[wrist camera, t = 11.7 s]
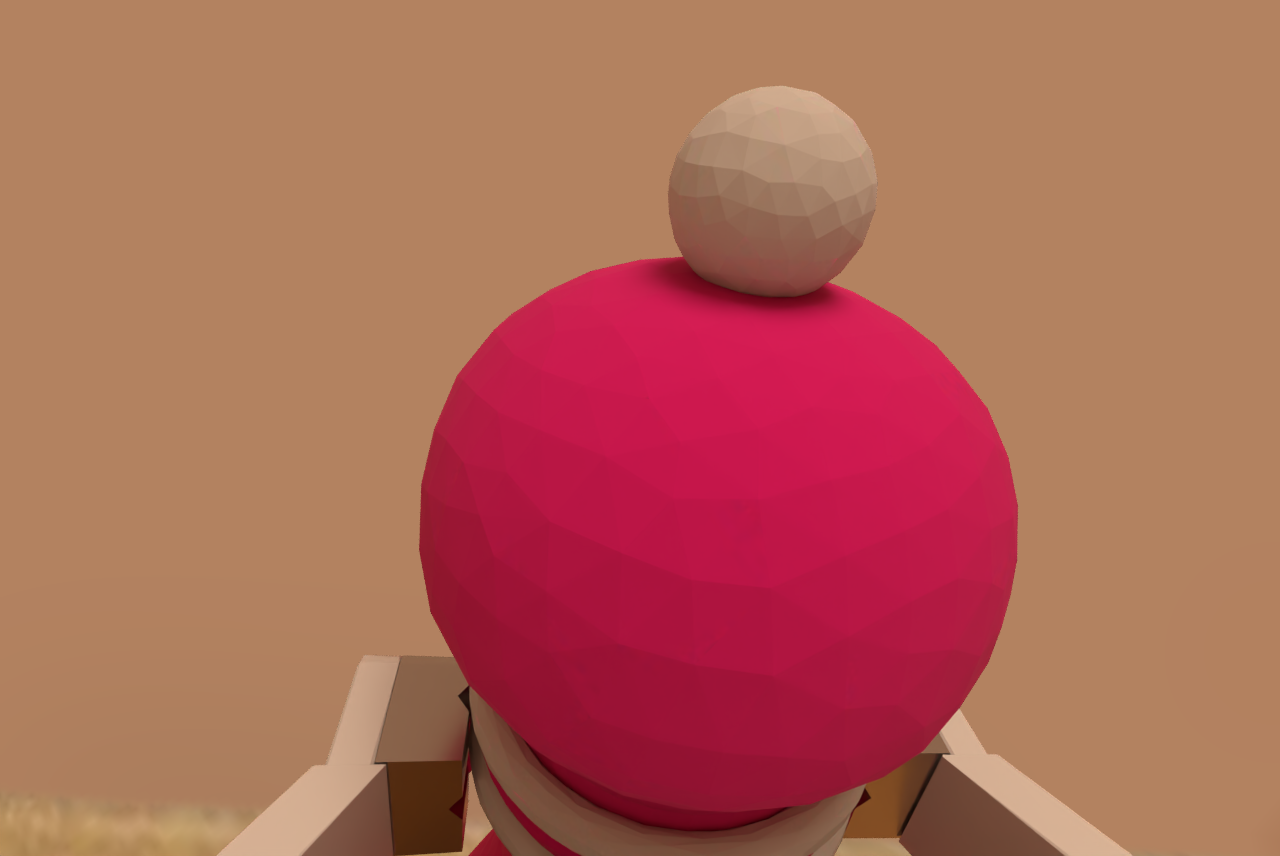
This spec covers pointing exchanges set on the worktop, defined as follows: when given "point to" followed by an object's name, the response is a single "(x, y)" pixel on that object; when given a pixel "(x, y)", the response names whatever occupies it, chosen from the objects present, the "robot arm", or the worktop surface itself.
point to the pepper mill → (715, 522)
